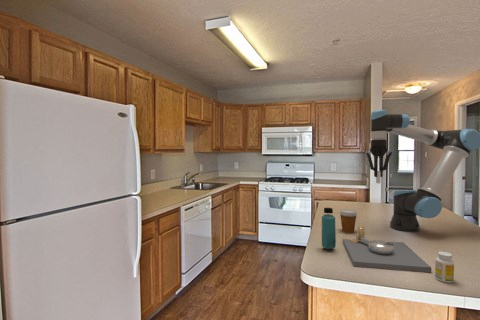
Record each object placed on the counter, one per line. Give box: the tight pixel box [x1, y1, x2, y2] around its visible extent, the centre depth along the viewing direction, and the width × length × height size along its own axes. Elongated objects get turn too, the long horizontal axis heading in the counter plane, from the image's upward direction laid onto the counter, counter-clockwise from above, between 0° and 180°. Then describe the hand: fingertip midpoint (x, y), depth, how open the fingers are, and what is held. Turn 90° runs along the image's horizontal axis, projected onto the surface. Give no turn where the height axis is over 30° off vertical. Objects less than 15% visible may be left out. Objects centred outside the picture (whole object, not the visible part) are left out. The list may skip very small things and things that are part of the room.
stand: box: [342, 238, 432, 273], centre depth 118 cm, size 28×28×2 cm
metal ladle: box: [355, 226, 394, 255], centre depth 122 cm, size 19×10×7 cm, turn 18°
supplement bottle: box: [434, 251, 455, 284], centre depth 95 cm, size 5×5×10 cm
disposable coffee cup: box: [339, 208, 358, 234], centre depth 152 cm, size 10×10×12 cm
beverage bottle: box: [321, 207, 337, 250], centre depth 125 cm, size 6×7×20 cm
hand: (378, 183), depth 141 cm, fingers closed
